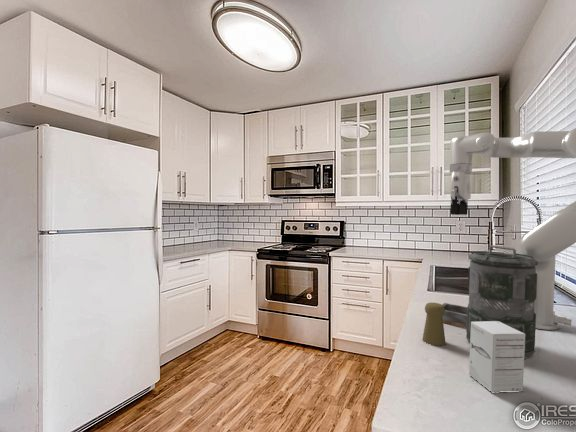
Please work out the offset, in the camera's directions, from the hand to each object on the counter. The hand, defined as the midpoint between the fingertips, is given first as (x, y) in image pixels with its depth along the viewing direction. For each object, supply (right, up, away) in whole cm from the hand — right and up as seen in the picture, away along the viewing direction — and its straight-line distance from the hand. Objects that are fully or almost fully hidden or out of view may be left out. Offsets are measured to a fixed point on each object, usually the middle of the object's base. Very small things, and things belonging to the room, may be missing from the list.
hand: (459, 214), depth 121 cm
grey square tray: (-8, -36, -13) cm, 40 cm away
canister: (-7, -37, -33) cm, 50 cm away
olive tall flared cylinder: (-24, -37, -30) cm, 53 cm away
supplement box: (-20, -37, -52) cm, 67 cm away
